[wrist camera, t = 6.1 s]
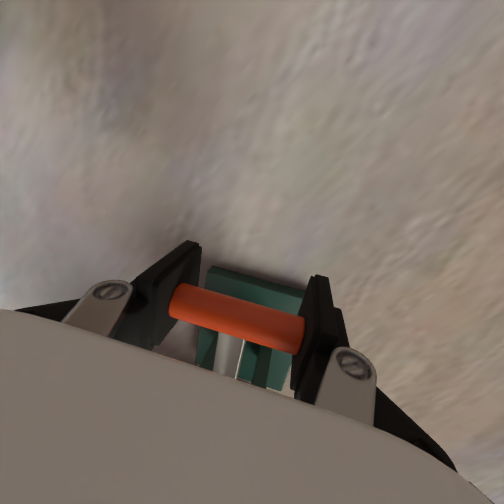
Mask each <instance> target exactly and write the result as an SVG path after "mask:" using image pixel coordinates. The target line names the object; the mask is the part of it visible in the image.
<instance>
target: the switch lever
mask: <svg viewBox="0 0 504 504" xmlns="http://www.w3.org/2000/svg"><path fill="white" fill-rule="evenodd" d="M168 312H169V315H170V316H171V317H173V318H176V319H179V320H182V321H186V322H189V323H192V324H195V325H199V326H202V327H205V328H208V329H212V330H215V331H218V339H217V346H216V353H215V360H214V367H213V372H216V373H219V374H222V375H225V376H228V377H231V378H234V379H237V378H238V373H239V369H240V365H241V361H242V356H243V352H244V348H245V343H246V340H247V341H250V342H254V343H257V344H260V345H263V346H267V347H270V348H273V349H276V350H280V351H283V352H286V353H289V354H292V355H297V354H298V353H299V351H300V349H301V346H302V342H303V338H304V333H305V319H304V318H303V317H300V316H297V315H293V314H290V313H286V312H283V311H280V310H276V309H273V308H269V307H266V306H262V305H259V304H255V303H252V302H248V301H245V300H242V299H238V298H235V297H231V296H228V295H224V294H221V293H217V292H214V291H210V290H207V289H203V288H200V287H197V286H193V285H190V284H186V283H181V284H179V285H178V286H177V288H176V289H175V291H174V292H173V294H172V297H171V299H170V303H169V309H168Z"/></svg>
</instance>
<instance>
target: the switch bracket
mask: <svg viewBox="0 0 504 504" xmlns="http://www.w3.org/2000/svg"><path fill="white" fill-rule="evenodd" d="M205 289H207V290H210V291H214V292H217V293H221V294H224V295H228V296H231V297H235V298H238V299H242V300H245V301H248V302H252V303H255V304H259V305H262V306H266V307H269V308H273V309H276V310H280V311H283V312H286V313H290V314H293V315H298V312H299V309H300V306H301V303H302V300H303V297H304V294H305V291H301V290H298V289H294V288H290V287H287V286H283V285H280V284H276V283H272V282H269V281H265V280H261V279H258V278H254V277H251V276H247V275H243V274H240V273H236V272H233V271H229V270H225V269H222V268H218V267H214V266H212V267H211V268H210V269H209V270H208V271H207V275H206V283H205ZM217 339H218V331H215V330H212V329H208V328H205V327H202V326H200V329H199V337H198V345H197V352H196V360H195V363H196V364H199V365H200V366H199V367H201V368H204V369H207V370H210V371H213V367H214V360H215V353H216V346H217ZM291 363H292V354H289V353H286V352H283V351H280V350H276V349H273V348H270V347H267V346H263V345H260V344H257V343H254V342H250V341H247V340H246V343H245V348H244V352H243V356H242V361H241V365H240V369H239V373H238V377H239V378H242V379H245V380H248V381H251V384H252V385H255V386H258V387H261V388H264V389H266V387H269V388H272V389H275V390H278V391H281V390H282V388H283V385H284V382H285V380H286V377H287V374H288V371H289V369H290V366H291Z"/></svg>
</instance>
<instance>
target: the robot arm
mask: <svg viewBox="0 0 504 504" xmlns="http://www.w3.org/2000/svg"><path fill="white" fill-rule="evenodd" d="M201 254H202V247H201V246H199V243H197V242H193V241H189V240H186V241H185V242H183V243H182V244H181V245H179V246H178V247H177V248H175V249H174V250H173V251H171V252H170V253H169V254H167V255H166V256H164V257H163V258H162V259H160V260H159V261H158V262H156V263H155V264H154V265H152V266H151V267H150V268H148V269H147V270H145V271H144V272H143V273H141V274H140V275H139V276H137V277H136V279H134V280H133V281H132V282H130V283H128V282H126V281H122V280H108V281H103V282H100V283H98V284H96V285H94V286H93V287H91V288H90V289H89V290H88V291H87V292H86V294H85V295H84V296H83V297H82V298H81V299H76V300H70V301H64V302H58V303H52V304H46V305H40V306H33V307H27V308H22V309H17V310H14V311H12V310H5V309H0V504H494V503H493V502H492V501H491V500H490V499H488V498H487V497H486V496H485V495H484V494H483V493H482V492H481V491H480V490H478V489H477V488H476V487H475V486H474V485H473V484H472V483H471V482H470V481H469V482H468V481H467V480H465V479H464V478H463V477H462V476H460V475H459V474H458V472H457V470H456V468H455V466H454V464H453V462H452V461H451V459H450V458H449V457H448V455H447V454H446V452H445V451H444V450H443V449H442V448H441V447H440V446H439V445H438V444H437V443H436V442H435V441H434V440H433V439H432V438H431V437H430V436H429V435H428V434H427V433H425V432H424V431H423V430H422V429H421V428H420V427H419V426H418V425H417V424H416V423H415V422H414V421H413V420H412V419H411V418H410V417H408V416H407V415H406V414H405V413H404V412H403V411H402V410H401V409H400V408H399V407H398V406H397V405H396V404H395V403H394V402H393V401H391V400H390V399H389V398H388V397H387V396H386V395H385V394H384V393H383V392H382V391H381V390H380V389H379V388H378V387H377V386H376V381H377V374H376V370H375V368H374V366H373V364H372V363H371V362H370V361H369V359H368V358H366V357H365V356H364V355H363V354H361V353H360V352H358V351H357V350H354V349H352V348H350V346H349V342H348V337H347V333H346V329H345V324H344V320H343V315H342V311H341V309H339V308H335V307H334V305H333V300H332V294H331V289H330V283H329V278H328V277H325V276H321V275H317V274H316V275H315V277H313V276H311V277H310V280H309V283H308V285H307V288H306V291H305V294H304V297H303V300H302V303H301V306H300V309H299V312H298V315H297V316H300V317H303V318H304V319H305V333H304V338H303V342H302V346H301V349H300V351H299V353H298V354H297V355H292V366H291V381H290V389H291V390H294V391H295V393H294V398H291V397H288V396H285V395H282V394H279V393H276V392H273V391H270V390H267V389H264V388H261V387H258V386H255V385H252V384H249V383H246V382H243V381H240V380H237V379H234V378H231V377H228V376H225V375H222V374H219V373H216V372H213V371H210V370H207V369H204V368H201V367H197V366H194V365H191V364H188V363H185V362H182V361H179V360H176V359H173V358H170V357H167V356H164V355H161V354H158V353H155V352H152V351H151V350H152V348H153V347H154V346H155V345H156V346H158V345H160V343H161V342H162V341H163V339H164V338H165V337H166V336H167V334H168V333H169V332H170V330H171V329H172V328H173V326H174V325H175V324H176V322H177V321H178V320H179V319H176V318H173V317H171V316H170V315H169V312H168V309H169V303H170V299H171V297H172V294H173V292H174V291H175V289H176V288H177V286H178V285H179V284H181V283H186V284H190V285H193V286H197V287H198V281H199V272H200V263H201Z"/></svg>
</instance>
